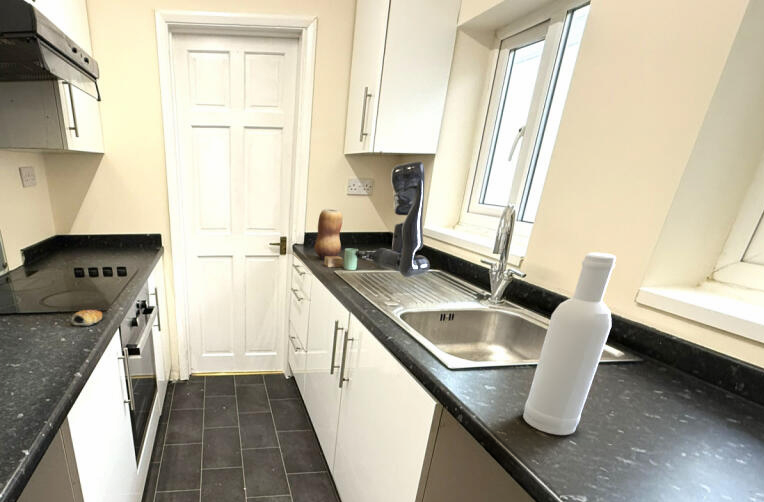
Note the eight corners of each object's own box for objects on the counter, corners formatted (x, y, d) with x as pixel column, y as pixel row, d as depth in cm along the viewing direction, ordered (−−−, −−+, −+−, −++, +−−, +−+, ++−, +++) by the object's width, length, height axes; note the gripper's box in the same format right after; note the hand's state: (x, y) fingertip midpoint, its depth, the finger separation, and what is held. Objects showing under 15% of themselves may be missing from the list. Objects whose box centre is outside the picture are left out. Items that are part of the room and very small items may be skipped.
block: (337, 264, 203) (338, 256, 201) (342, 266, 197) (342, 258, 196) (324, 264, 202) (324, 256, 200) (328, 267, 196) (328, 258, 195)
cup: (353, 267, 196) (355, 248, 193) (358, 269, 191) (360, 250, 187) (341, 267, 195) (343, 248, 192) (346, 270, 190) (347, 250, 186)
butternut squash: (339, 262, 207) (343, 210, 198) (313, 261, 209) (315, 210, 200) (339, 257, 220) (343, 208, 210) (314, 256, 222) (317, 208, 212)
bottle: (557, 411, 77) (609, 250, 65) (586, 436, 69) (650, 259, 58) (513, 410, 77) (557, 249, 66) (537, 435, 70) (591, 259, 59)
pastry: (91, 315, 129) (89, 304, 128) (109, 318, 127) (107, 306, 126) (69, 325, 121) (67, 313, 119) (88, 328, 119) (86, 315, 117)
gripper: (403, 248, 166) (379, 243, 181) (373, 250, 162) (351, 244, 176) (400, 267, 169) (377, 260, 183) (371, 269, 165) (349, 262, 179)
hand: (364, 252), depth 180 cm, fingers open, 8 cm apart
